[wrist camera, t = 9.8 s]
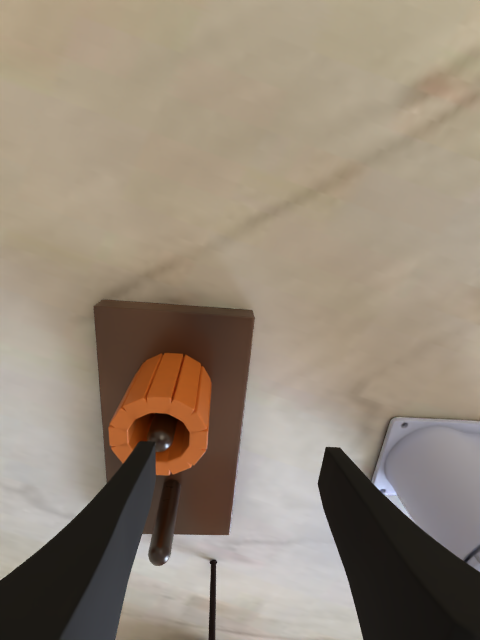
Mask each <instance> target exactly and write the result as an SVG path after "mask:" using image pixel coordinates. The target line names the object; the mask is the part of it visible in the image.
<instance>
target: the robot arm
mask: <svg viewBox="0 0 480 640" xmlns="http://www.w3.org/2000/svg"><path fill="white" fill-rule="evenodd" d="M403 423H404V424H403ZM402 424H403V425H402ZM155 482H156V449H155V442H152V441H140V442H139V443H138V444H137V445H136V446H135V448H134V449H133V451H132V452H131V454H130V455H129V456H128V458H127V459H126V460H125V462H124V463H123V464H122V466H121V467H120V468H119V469H118V471H117V472H116V473H115V474H114V475H113V477H112V478H111V479H110V480H109V482H108V483H107V484H106V485H105V486H104V487H103V489H102V490H101V491H100V492H99V493H98V494H97V495H96V496H95V497H94V499H93V500H92V501H91V502H90V503H89V504H88V505H87V506H86V507H85V508H84V509H83V510H82V511H81V512H80V513H79V514H78V515H77V516H76V517H75V518H74V519H73V520H72V521H71V522H70V523H69V524H68V525H67V526H66V527H65V528H64V529H63V530H61V531H60V532H59V533H58V534H57V535H56V536H55V537H54V538H52V539H51V540H50V541H49V542H48V543H47V544H46V545H44V546H43V547H42V548H41V549H40V550H39V551H37V552H36V553H35V554H34V555H32V556H31V557H30V558H29V559H27V560H26V561H25V562H24V563H22V564H21V565H20V566H18V567H17V568H16V569H15V570H13V571H12V572H11V573H10V574H8V575H7V576H6V577H4V578H3V579H2V580H0V640H115V638H116V633H117V628H118V624H119V619H120V614H121V610H122V605H123V601H124V597H125V592H126V588H127V583H128V579H129V576H130V572H131V568H132V565H133V562H134V559H135V555H136V552H137V549H138V546H139V542H140V539H141V536H142V533H143V529H144V526H145V523H146V520H147V516H148V513H149V510H150V506H151V502H152V497H153V492H154V487H155ZM318 487H319V491H320V496H321V500H322V504H323V509H324V512H325V515H326V517H327V520H328V523H329V526H330V529H331V532H332V535H333V537H334V540H335V543H336V546H337V549H338V552H339V554H340V557H341V560H342V563H343V566H344V568H345V572H346V575H347V578H348V581H349V585H350V588H351V592H352V596H353V600H354V604H355V607H356V611H357V615H358V619H359V623H360V627H361V632H362V636H363V640H480V421H473V420H451V419H429V418H407V417H395V418H393V419H392V420H391V421H390V424H389V427H388V430H387V434H386V437H385V440H384V443H383V446H382V449H381V453H380V456H379V459H378V462H377V465H376V469H375V472H374V475H373V478H372V481H370V480H369V479H368V478H367V477H366V476H365V475H364V474H363V472H362V471H361V470H360V469H359V468H358V467H357V466H356V465H355V464H354V463H353V461H352V460H351V459H350V458H349V457H348V456H347V455H346V454H345V453H344V452H343V451H342V449H341V448H337V447H326V449H325V453H324V458H323V462H322V467H321V471H320V476H319V480H318ZM385 495H397V496H398V497H399V499H400V501H401V502H402V504H403V506H404V507H405V509H406V511H407V512H408V514H409V516H410V517H411V519H412V520H413V521H412V520H411V519H409V518H408V517H407V516H406V515H405V514H404V513H403V512H402V511H400V510H399V509H398V508H397V507H396V506H395V505H394V504H393V503H392V502H391V501H390V500H389V499H388V498H387V497H386V496H385Z"/></svg>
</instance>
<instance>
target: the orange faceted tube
mask: <svg viewBox="0 0 480 640" xmlns="http://www.w3.org/2000/svg"><path fill="white" fill-rule="evenodd" d="M211 385H212V382H211V379H210V377H209V375H208V374H207V372H206V370H205V368H204V367H203V366H201V363H199V362H198V361H196V360H194V359H192V358H191V357H189V356H187V355H185V356H184V357H183V354H177V353H164V355H163V354H162V353H161V354H159V355H157V356H155V357H152V358H150V359H148V360H146V361H145V362H144V363H143V364H142V365H141V367H140V368H139V370H138V371H137V373H136V374H135V376H134V378H133V380H132V382H131V384H130V385H129V387H128V389H127V391H126V393H125V395H124V397H123V399H122V401H121V403H120V404H119V406H118V408H117V410H116V412H115V414H114V416H113V418H112V420H111V422H110V425H109V427H108V429H109V444H110V446H111V449H112V451H113V452H114V453H115V454H116V456H117V457H118V458H119V459H120V461H121V462H122V463H124V462H125V460H126V459H127V458H128V456H129V455H130V454H131V452H132V451H133V449H134V448H135V446H136V445H137V444H138V443H139V442H140V441H147V435H148V432H149V429H150V426H151V423H152V420H153V417H154V414H155V413H166V414H169V415H171V416H173V417H175V418H177V419H178V421H177V425H176V430H175V435H174V439H173V443H172V445H171V446H170V447H169V448H168V449H167V450H165V451H163V452H156V475H170V472H171V473H172V474H176V473H179V472H181V471H184V470H186V469H188V468H191V466H192V465H195V464H196V463H197V461H198V460H199V459H200V458H201V457H202V455H203V454H204V453H205V452H206V449H207V444H208V430H209V415H210V400H211Z"/></svg>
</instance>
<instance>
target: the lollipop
mask: <svg viewBox="0 0 480 640" xmlns="http://www.w3.org/2000/svg"><path fill="white" fill-rule="evenodd" d="M210 564H211V582H210V613H209V640H215V615H216V564H217V561H216V560H212V561H210Z"/></svg>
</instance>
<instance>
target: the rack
mask: <svg viewBox="0 0 480 640" xmlns="http://www.w3.org/2000/svg"><path fill="white" fill-rule="evenodd" d="M94 317H95V330H96V344H97V357H98V371H99V384H100V397H101V411H102V424H103V438H104V451H105V464H106V478H107V483H108V482H109V480H110V479H111V478H112V477H113V475H114V474H115V473H116V472H117V471H118V469H119V468H120V467H121V466H122V464H123V463H122V462H121V461H120V459H119V458H118V457H117V456H116V454H115V453H114V452H113V451H112V449H111V446H110V444H109V429H108V427H109V425H110V422H111V420H112V418H113V416H114V414H115V412H116V410H117V408H118V406H119V404H120V403H121V401H122V399H123V397H124V395H125V393H126V391H127V389H128V387H129V385H130V384H131V382H132V380H133V378H134V376H135V374H136V373H137V371H138V370H139V368H140V367H141V365H142V364H143V363H144V362H145V361H146V360H148V359H150V358H152V357H155V356H157V355H159V354H161V353H162V354H163V355H164V353H177V354H183V357H184V356H185V355H187V356H189V357H191V358H192V359H194V360H196V361H198V362H199V363H201V366H203V367H204V368H205V370H206V372H207V374H208V375H209V377H210V379H211V382H212V385H211V400H210V415H209V430H208V444H207V449H206V452H205V453H204V454H203V455H202V457H201V458H200V459H199V460H198V461H197V463H196V464H195V465H192V466H191V468H188V469H186V470H184V471H181V472H179V473H176V474H172V473H171V472H170V475H156V482H155V487H154V492H153V497H152V502H151V506H150V510H149V513H148V516H147V520H146V523H145V526H144V529H143V533H142V534H152V538H151V543H150V547H149V553H148V556H149V560H150V562H151V563H152V564H153V565H156V566H161V565H163V564H165V563H166V562H167V561H168V559H169V557H170V555H171V549H172V542H173V536H174V534H187V535H230V528H231V519H232V511H233V502H234V493H235V485H236V476H237V467H238V459H239V450H240V441H241V433H242V424H243V415H244V407H245V398H246V389H247V381H248V372H249V363H250V355H251V346H252V337H253V329H254V320H255V317H254V314H253V311H252V310H242V309H228V308H214V307H200V306H186V305H172V304H158V303H144V302H130V301H116V300H101V301H100V302H99V303H97V304H96V305H95V306H94ZM177 421H178V419H177V418H175V417H173V416H171V415H169V414H166V413H155V414H154V417H153V420H152V423H151V426H150V429H149V432H148V435H147V441H152V442H155V449H156V452H163V451H165V450H167V449H168V448H169V447H170V446H171V445H172V443H173V439H174V435H175V430H176V425H177Z"/></svg>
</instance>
